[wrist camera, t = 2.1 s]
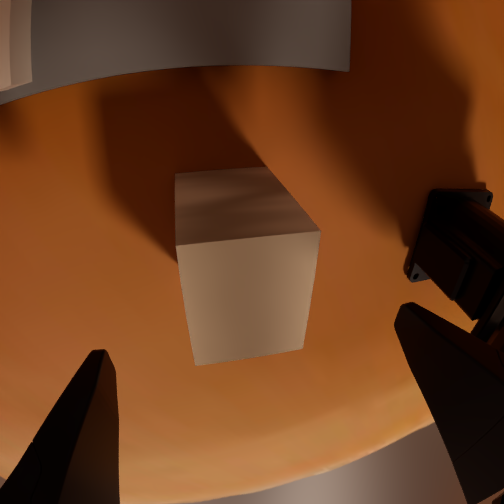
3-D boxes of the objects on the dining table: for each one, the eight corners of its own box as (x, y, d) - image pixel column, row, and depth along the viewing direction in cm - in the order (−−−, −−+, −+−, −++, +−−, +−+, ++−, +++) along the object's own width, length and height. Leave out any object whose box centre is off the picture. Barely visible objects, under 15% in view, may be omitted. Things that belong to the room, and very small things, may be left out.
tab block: (266, 166, 14) (321, 230, 9) (263, 260, 17) (302, 348, 12) (174, 173, 13) (175, 245, 8) (185, 269, 16) (195, 365, 11)
